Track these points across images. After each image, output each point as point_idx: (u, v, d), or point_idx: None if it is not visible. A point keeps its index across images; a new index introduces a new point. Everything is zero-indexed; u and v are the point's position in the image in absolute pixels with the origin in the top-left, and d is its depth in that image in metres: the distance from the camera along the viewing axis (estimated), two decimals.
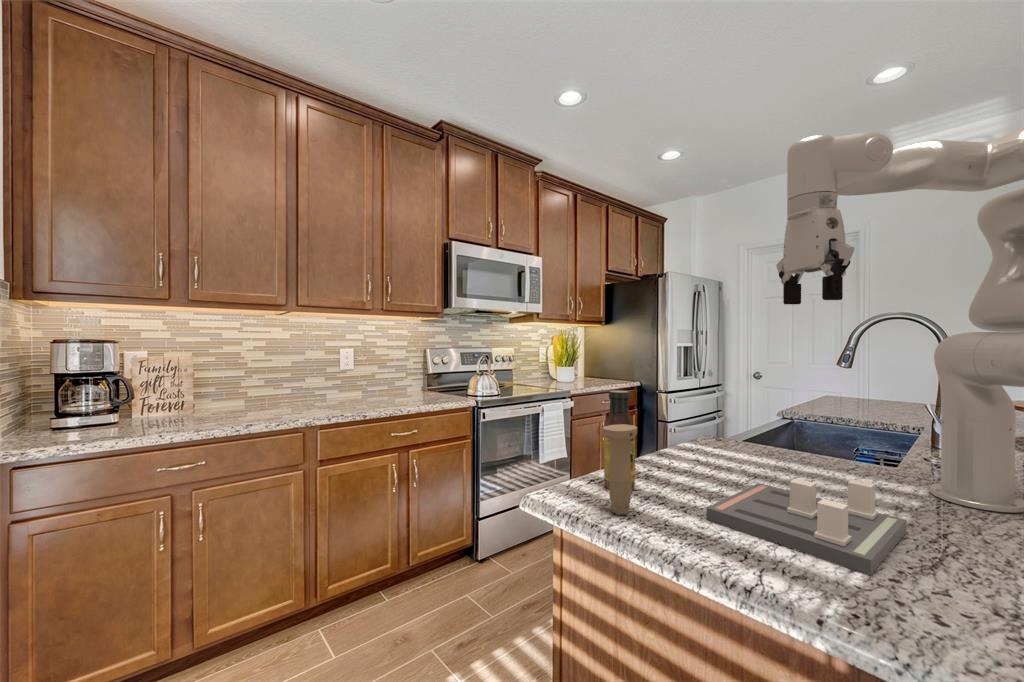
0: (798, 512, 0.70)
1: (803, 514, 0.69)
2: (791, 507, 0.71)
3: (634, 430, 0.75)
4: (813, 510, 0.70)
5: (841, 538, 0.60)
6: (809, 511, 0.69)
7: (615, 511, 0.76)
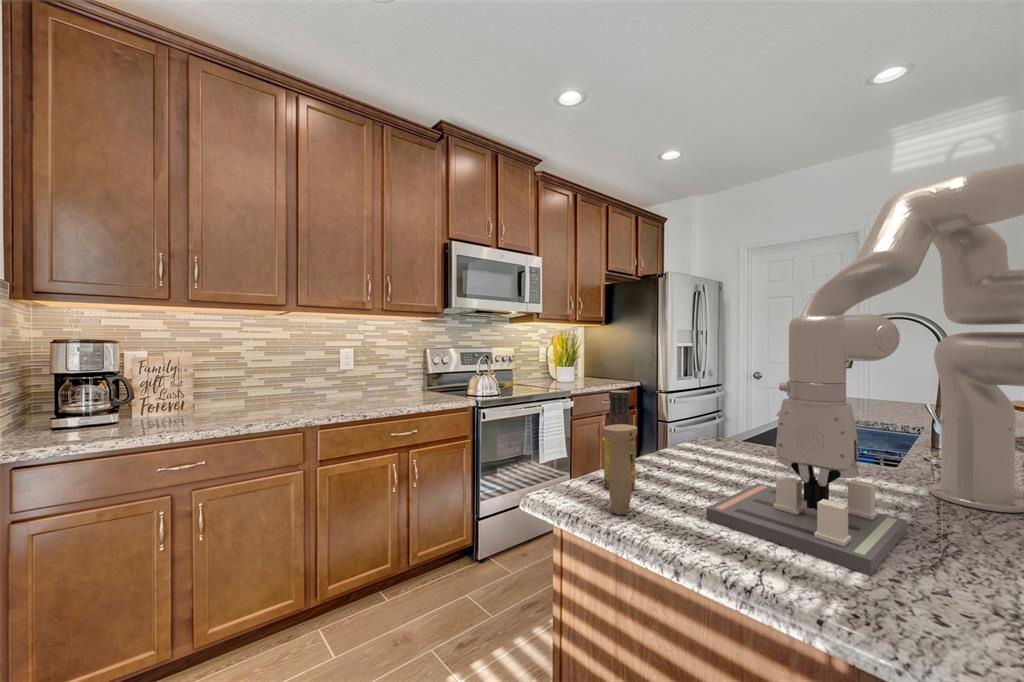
0: (784, 508, 0.72)
1: (789, 510, 0.71)
2: (777, 503, 0.73)
3: (634, 430, 0.75)
4: (799, 506, 0.71)
5: (841, 538, 0.60)
6: (795, 507, 0.71)
7: (615, 511, 0.76)
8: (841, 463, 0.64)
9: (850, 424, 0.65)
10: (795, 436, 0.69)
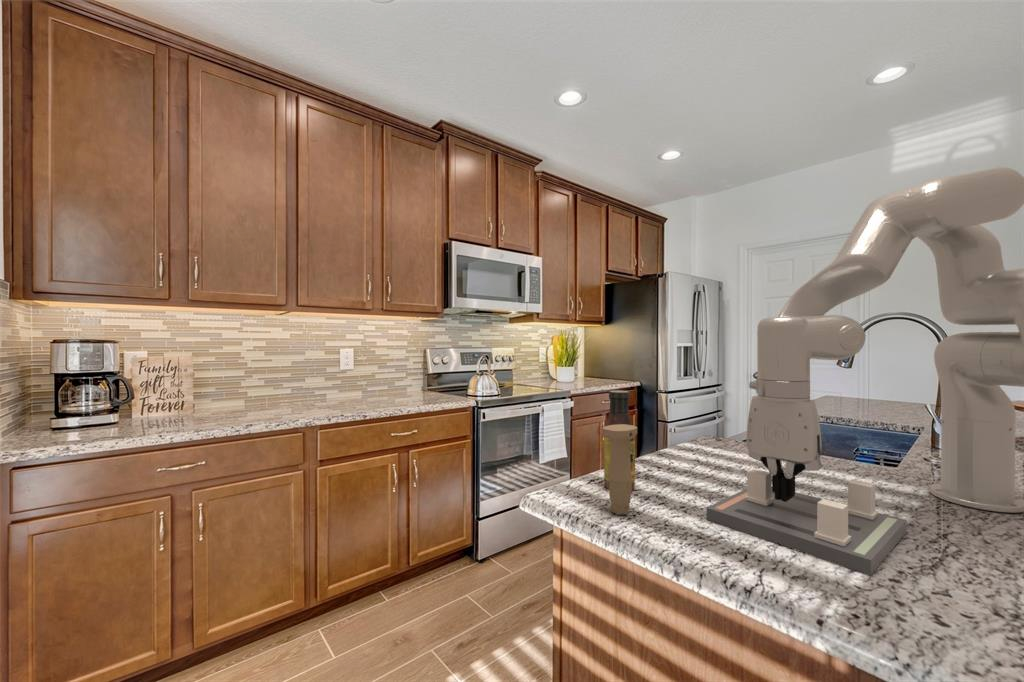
0: (754, 500, 0.75)
1: (759, 502, 0.75)
2: (748, 495, 0.76)
3: (634, 430, 0.75)
4: (768, 498, 0.75)
5: (841, 538, 0.60)
6: (764, 499, 0.74)
7: (615, 511, 0.76)
8: (805, 456, 0.68)
9: (813, 419, 0.68)
10: (763, 431, 0.73)
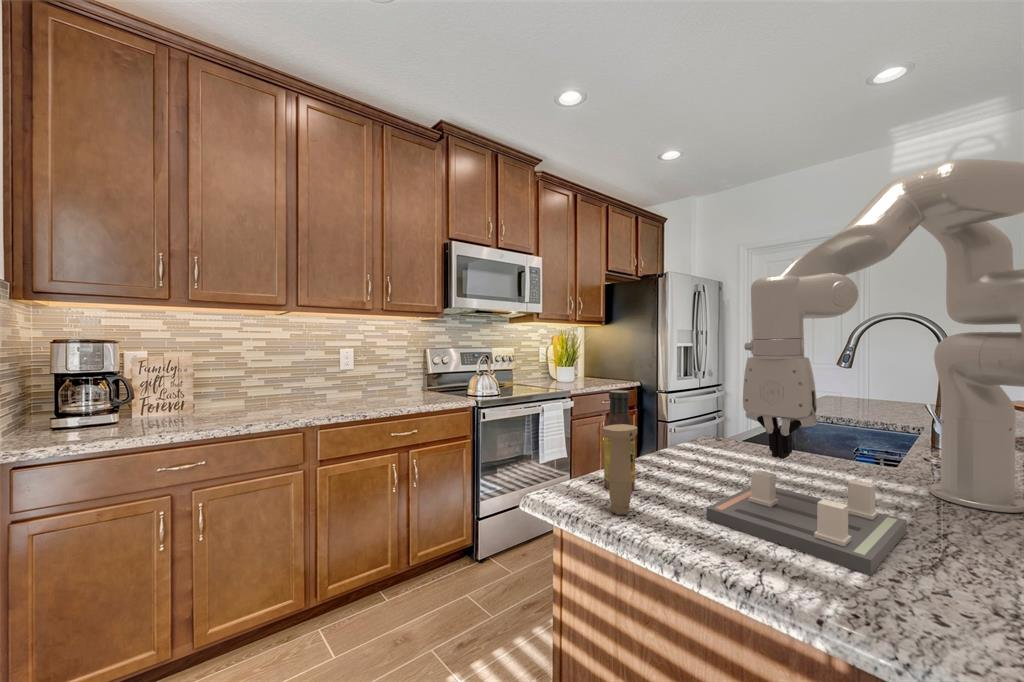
0: (758, 501, 0.75)
1: (762, 503, 0.74)
2: (752, 496, 0.76)
3: (634, 430, 0.75)
4: (772, 499, 0.74)
5: (841, 538, 0.60)
6: (768, 500, 0.74)
7: (615, 511, 0.76)
8: (800, 412, 0.69)
9: (807, 375, 0.69)
10: (759, 390, 0.74)
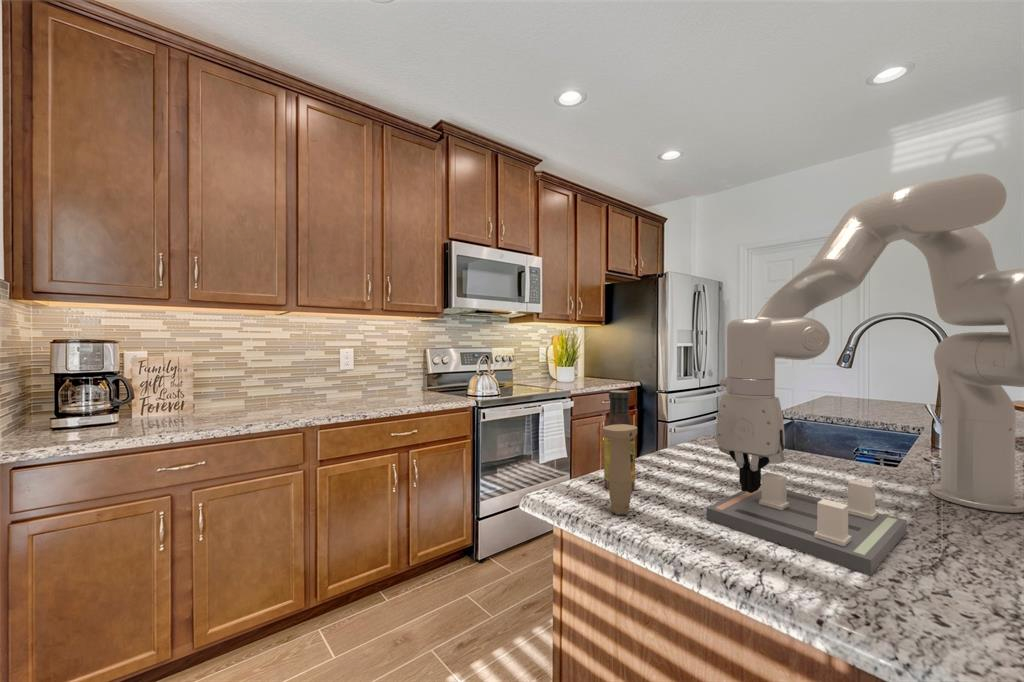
0: (769, 504, 0.73)
1: (773, 506, 0.73)
2: (763, 499, 0.75)
3: (634, 430, 0.75)
4: (783, 502, 0.73)
5: (841, 538, 0.60)
6: (779, 503, 0.72)
7: (615, 511, 0.76)
8: (767, 450, 0.72)
9: (775, 415, 0.73)
10: (731, 426, 0.77)
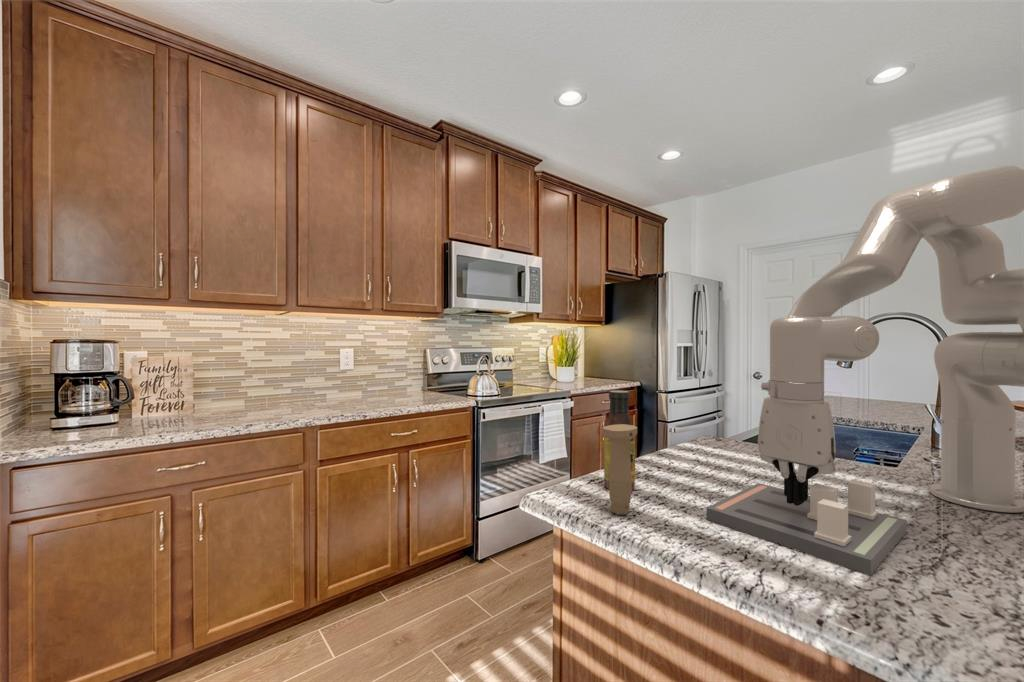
0: None
1: None
2: (812, 513, 0.69)
3: (634, 430, 0.75)
4: None
5: (841, 538, 0.60)
6: None
7: (615, 511, 0.76)
8: (818, 459, 0.67)
9: (827, 422, 0.67)
10: (775, 433, 0.71)
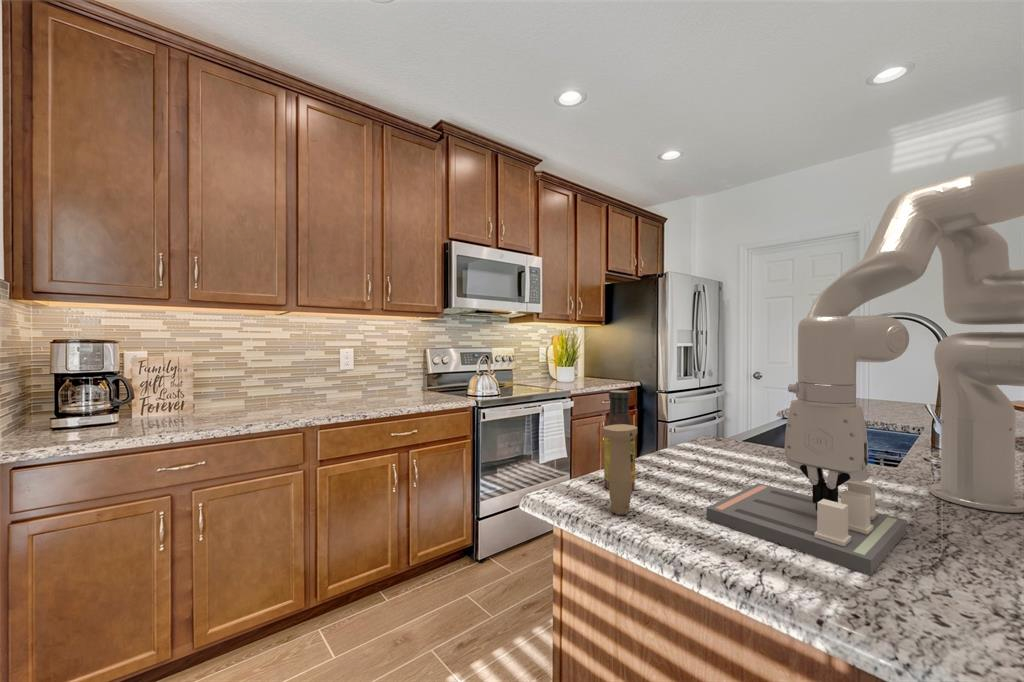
0: (851, 527, 0.65)
1: (857, 529, 0.64)
2: None
3: (634, 430, 0.75)
4: (868, 525, 0.64)
5: (841, 538, 0.60)
6: (864, 526, 0.64)
7: (615, 511, 0.76)
8: (850, 466, 0.64)
9: (860, 426, 0.64)
10: (804, 438, 0.68)
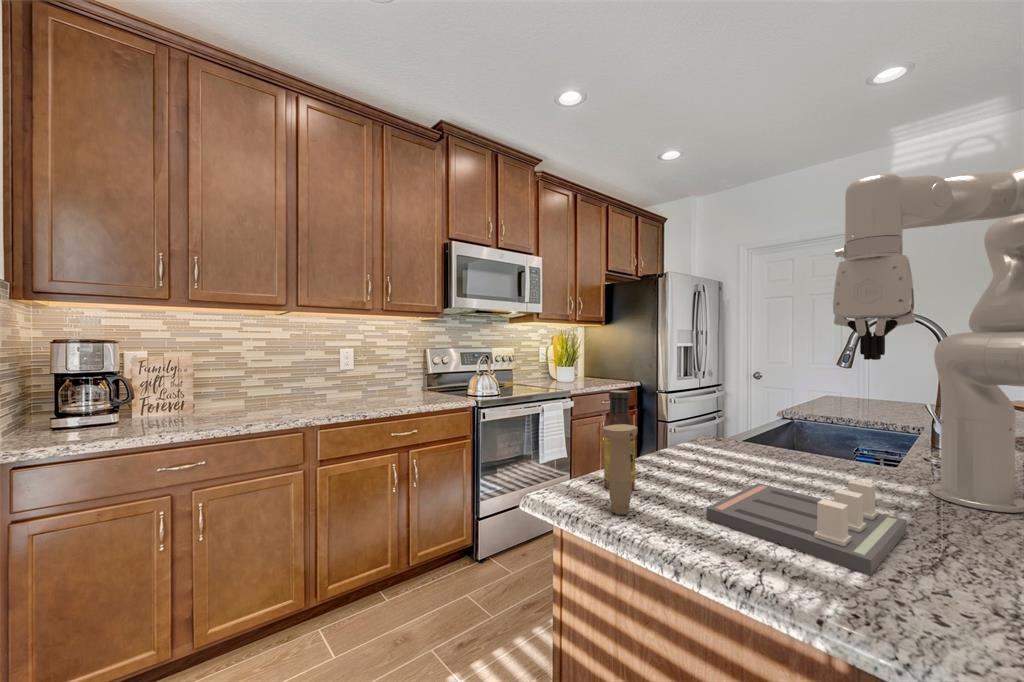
0: None
1: (850, 527, 0.65)
2: None
3: (634, 430, 0.75)
4: (860, 523, 0.65)
5: (841, 538, 0.60)
6: (856, 524, 0.64)
7: (615, 511, 0.76)
8: (899, 307, 0.69)
9: (908, 271, 0.69)
10: (853, 292, 0.74)
